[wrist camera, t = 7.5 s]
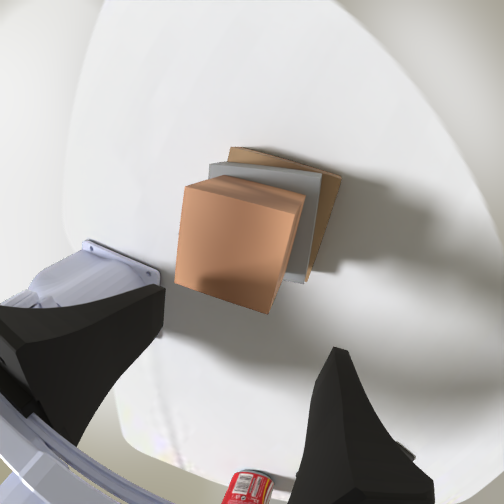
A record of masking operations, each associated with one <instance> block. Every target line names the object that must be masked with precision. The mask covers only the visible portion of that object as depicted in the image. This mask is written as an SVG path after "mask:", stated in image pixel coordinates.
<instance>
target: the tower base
mask: <svg viewBox="0 0 504 504" xmlns="http://www.w3.org/2000/svg"><path fill="white" fill-rule="evenodd" d="M227 162H236V163H246V164H256V165H264V166H273V167H281V168H288V169H296V170H303V171H310V172H316V173H322V180H321V187H320V195H319V202H318V209H317V216H316V222H315V229H314V235H313V241H312V247H311V253H310V259H309V265H308V270H307V274H306V278H305V282H307V280H308V278H309V275H310V272H311V269H312V267H313V264H314V261H315V258H316V256H317V253H318V250H319V247H320V244H321V241H322V238H323V235H324V233H325V230H326V227H327V224H328V221H329V218H330V215H331V212H332V209H333V205H334V202H335V199H336V196H337V193H338V190H339V187H340V183H341V180H342V178H341V176H339V175H336V174H333V173H330V172H327V171H324V170H320V169H317V168H314V167H311V166H308V165H304V164H301V163H298V162H294V161H291V160H287V159H284V158H280V157H277V156H273V155H270V154H266V153H262V152H258V151H255V150H251V149H247V148H243V147H231V148H230V152H229V156H228V161H227Z"/></svg>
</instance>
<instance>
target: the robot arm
mask: <svg viewBox="0 0 504 504" xmlns="http://www.w3.org/2000/svg"><path fill="white" fill-rule="evenodd" d="M149 272H150V273H151V275H150V274H149ZM159 285H160V273H159V272H158V271H157V270H156V269H153V268H151V267H149V266H146V265H144V264H141V263H139V262H137V261H134V260H132V259H130V258H127V257H125V256H123V255H120V254H118V253H116V252H113V251H111V250H109V249H106V248H104V247H102V246H100V245H97V244H95V243H93V242H91V241H89V240H84V241H83V242H82V250H80V251H78V252H76V253H74V254H72V255H70V256H68V257H66V258H65V259H62V260H60V261H58V262H57V263H55V264H53V265H51V266H49V267H47V268H45V269H44V270H42V271H41V272H39V273H38V274H37V275H36V277H35V278H34V279H33V280H32V282H31V284H30V286H29V288H28V289H26V290H24V291H22V292H20V293H18V294H16V295H14V296H12V297H11V298H9V299H7V300H5V301H4V302H2V303H0V457H1V458H2V460H3V461H4V462H5V463H6V464H7V465H8V466H9V467H10V468H11V469H12V470H13V472H12V473H11V474H10V475H9V476H8V477H7V479H6V480H5V481H4V482H3V483H2V484H1V485H0V504H121V503H119V502H117V501H115V500H114V499H112V498H110V497H109V496H107V495H106V494H104V493H102V492H101V491H99V490H98V489H96V488H95V487H93V486H92V485H90V484H89V483H87V482H86V481H84V480H83V479H81V478H80V477H79V476H77V475H76V474H74V473H73V472H72V471H70V469H69V467H68V465H67V464H69V465H70V466H71V467H73V468H74V469H75V470H77V471H78V472H79V473H81V474H82V475H84V476H85V477H87V478H88V479H89V480H91V481H92V482H94V483H95V484H97V485H99V486H100V487H102V488H104V489H105V490H107V491H108V492H110V493H111V494H113V495H115V496H117V497H118V498H120V499H122V500H123V501H125V502H127V503H129V504H175V503H172V502H170V501H168V500H166V499H164V498H161V497H159V496H157V495H155V494H153V493H151V492H149V491H147V490H145V489H143V488H141V487H139V486H137V485H135V484H134V483H132V482H130V481H128V480H127V479H125V478H123V477H121V476H120V475H118V474H116V473H114V472H113V471H111V470H110V469H108V468H106V467H105V466H103V465H101V464H100V463H98V462H97V461H95V460H94V459H92V458H91V457H89V456H88V455H86V454H85V453H83V452H82V451H81V450H79V449H78V448H77V445H78V443H79V441H80V439H81V437H82V435H83V433H84V431H85V429H86V427H87V426H88V424H89V422H90V420H91V419H92V417H93V415H94V414H95V412H96V410H97V409H98V407H99V406H100V404H101V403H102V401H103V400H104V398H105V397H106V395H107V394H108V392H109V391H110V389H111V388H112V387H113V385H114V384H115V383H116V381H117V380H118V379H119V378H120V376H121V375H122V374H123V373H124V372H125V371H126V370H127V369H128V368H129V367H130V365H131V364H132V363H133V362H134V361H135V360H136V359H137V358H138V357H139V356H140V355H141V354H142V353H143V351H144V350H145V349H146V348H147V347H148V346H149V345H150V344H151V343H152V341H153V340H154V339H155V338H156V336H157V334H158V333H159V331H160V330H161V328H162V327H163V319H164V303H165V290H166V288H163V287H161V286H159ZM60 458H61V459H62V460H63V461H65V462H66V463H67V464H66V463H64V462H63V461H62V460H61V459H60ZM288 504H435V494H434V483H433V480H432V479H431V478H430V477H429V476H428V475H426V474H425V473H424V472H423V471H422V470H421V469H420V468H418V467H417V466H416V465H415V464H414V463H413V462H412V461H411V460H410V459H409V457H408V456H407V455H406V454H405V453H404V452H403V451H402V450H401V449H400V447H399V446H398V445H397V444H396V442H395V441H394V440H393V438H392V437H391V436H390V434H389V433H388V432H387V430H386V429H385V427H384V426H383V424H382V423H381V421H380V419H379V418H378V416H377V414H376V413H375V411H374V409H373V407H372V405H371V403H370V402H369V400H368V398H367V396H366V393H365V391H364V389H363V387H362V384H361V382H360V380H359V377H358V375H357V372H356V370H355V367H354V365H353V362H352V360H351V357H350V355H349V352H348V351H347V350H344V349H340V348H337V347H333V349H332V351H331V353H330V355H329V357H328V359H327V361H326V362H325V364H324V366H323V368H322V370H321V372H320V374H319V376H318V378H317V379H316V382H315V386H314V390H313V394H312V398H311V403H310V410H309V418H308V426H307V434H306V441H305V448H304V453H303V457H302V461H301V464H300V468H299V471H298V474H297V478H296V481H295V484H294V487H293V490H292V493H291V496H290V498H289V501H288Z"/></svg>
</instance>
